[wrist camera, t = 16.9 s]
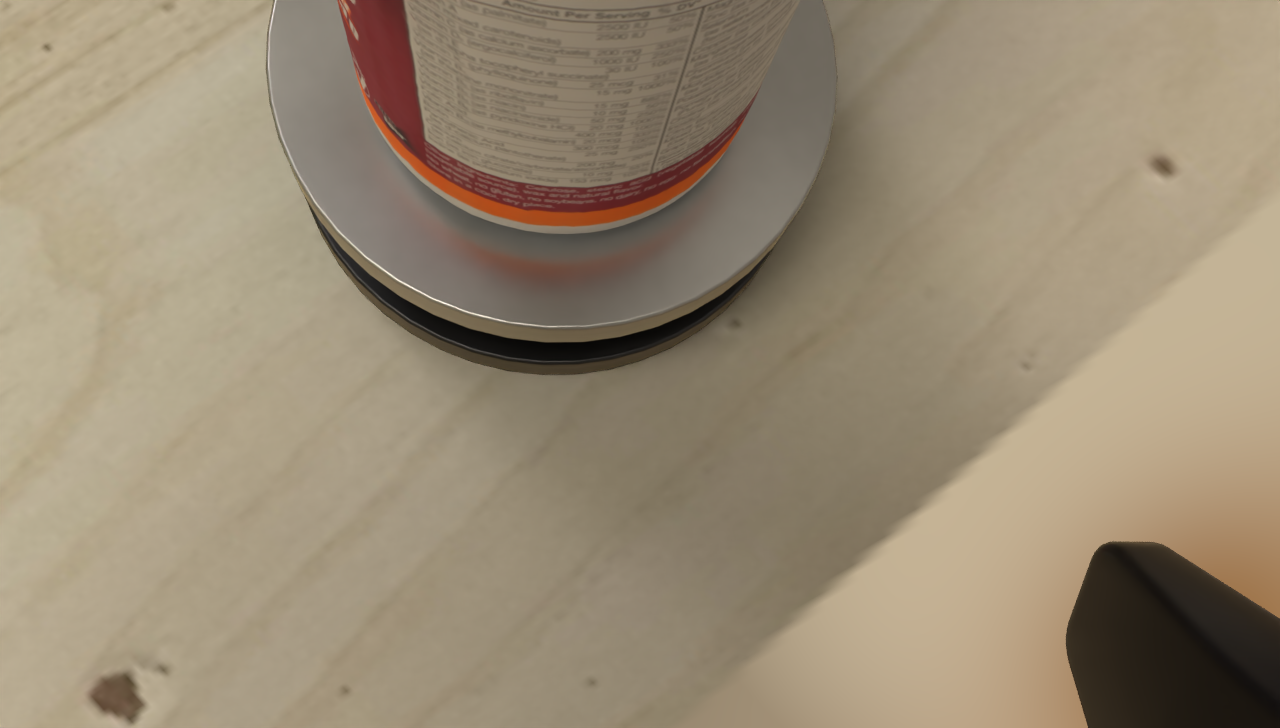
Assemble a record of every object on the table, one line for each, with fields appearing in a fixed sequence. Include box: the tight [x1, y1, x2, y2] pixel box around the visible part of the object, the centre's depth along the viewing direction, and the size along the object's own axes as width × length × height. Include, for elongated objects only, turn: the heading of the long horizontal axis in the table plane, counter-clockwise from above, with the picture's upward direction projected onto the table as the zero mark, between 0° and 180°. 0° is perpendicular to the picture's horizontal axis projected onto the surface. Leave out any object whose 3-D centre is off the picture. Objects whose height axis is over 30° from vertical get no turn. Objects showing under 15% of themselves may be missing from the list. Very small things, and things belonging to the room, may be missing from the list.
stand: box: [266, 0, 837, 375], centre depth 20 cm, size 9×9×3 cm
